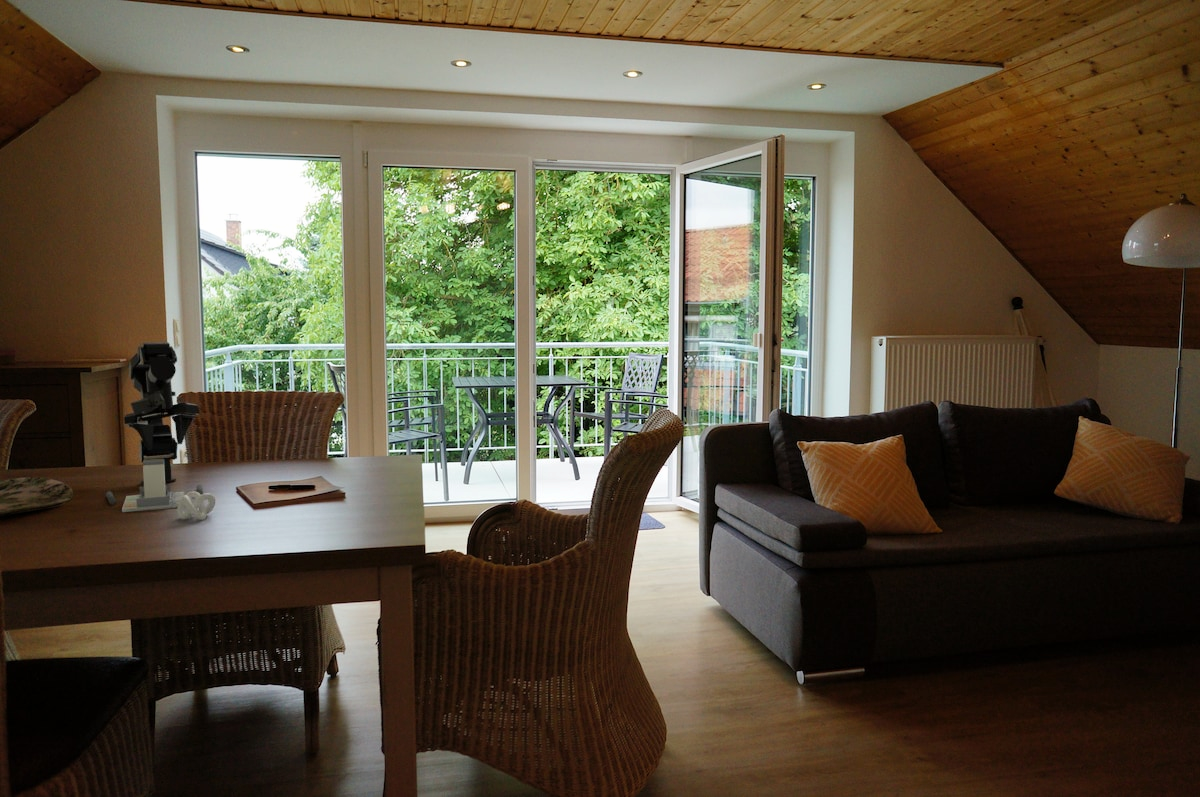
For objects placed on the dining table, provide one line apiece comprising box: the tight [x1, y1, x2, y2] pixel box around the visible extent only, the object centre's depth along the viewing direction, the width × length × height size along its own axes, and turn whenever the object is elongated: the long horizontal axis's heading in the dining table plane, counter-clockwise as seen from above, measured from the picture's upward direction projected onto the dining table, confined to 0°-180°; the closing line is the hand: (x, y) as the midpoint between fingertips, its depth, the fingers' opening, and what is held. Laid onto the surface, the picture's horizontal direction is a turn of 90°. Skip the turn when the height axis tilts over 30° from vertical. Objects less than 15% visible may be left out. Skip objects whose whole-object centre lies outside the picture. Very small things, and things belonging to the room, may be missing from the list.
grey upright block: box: [142, 459, 166, 498], centre depth 210 cm, size 4×4×9 cm
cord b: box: [105, 491, 117, 506], centre depth 209 cm, size 12×1×1 cm, turn 34°
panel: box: [121, 484, 185, 513], centre depth 207 cm, size 16×13×3 cm
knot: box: [176, 490, 216, 521], centre depth 192 cm, size 8×8×6 cm
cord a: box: [196, 484, 204, 495], centre depth 218 cm, size 12×1×1 cm, turn 26°
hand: (164, 447), depth 220 cm, fingers open, 9 cm apart
